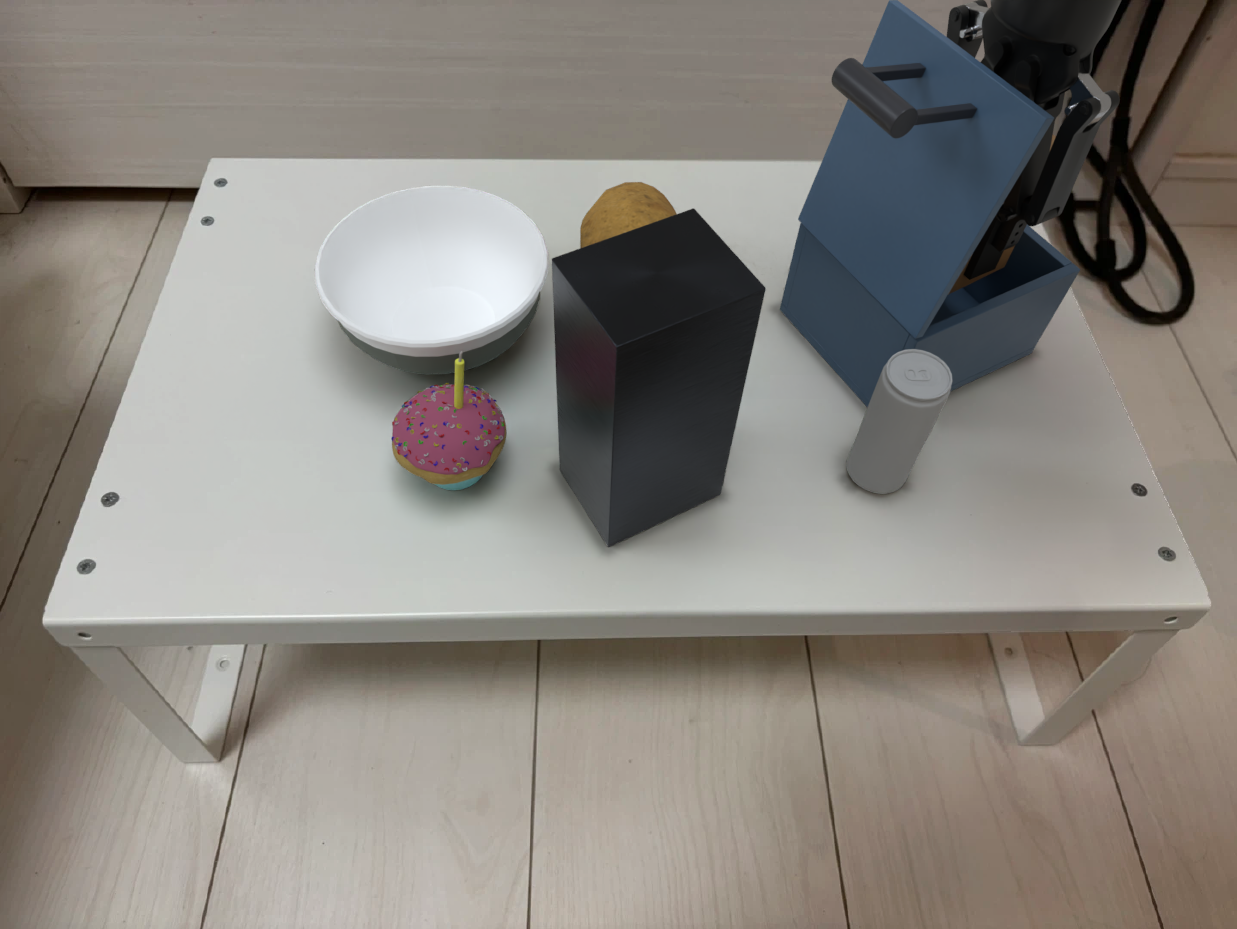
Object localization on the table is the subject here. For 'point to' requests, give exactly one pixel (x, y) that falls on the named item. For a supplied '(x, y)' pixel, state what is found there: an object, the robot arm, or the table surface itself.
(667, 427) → the stand
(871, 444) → the beverage can
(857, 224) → the lid
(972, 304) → the chest
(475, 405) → the cupcake
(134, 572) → the table surface
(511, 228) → the bowl
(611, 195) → the potato
